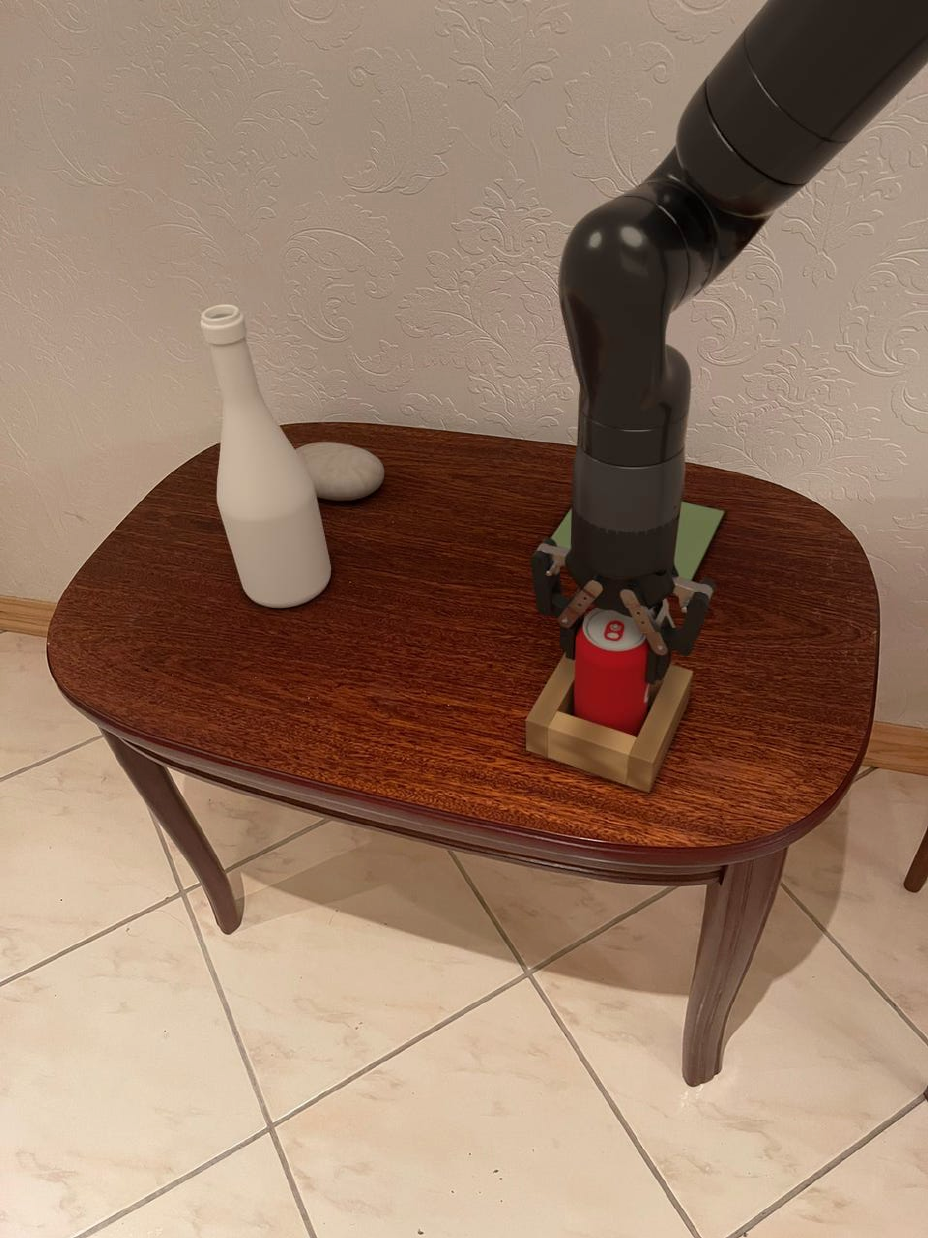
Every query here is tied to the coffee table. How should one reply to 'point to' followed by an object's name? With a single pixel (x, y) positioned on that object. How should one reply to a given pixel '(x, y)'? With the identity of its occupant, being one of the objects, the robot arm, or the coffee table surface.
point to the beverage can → (611, 672)
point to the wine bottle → (262, 481)
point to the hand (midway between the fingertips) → (613, 664)
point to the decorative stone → (341, 470)
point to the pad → (691, 536)
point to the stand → (607, 729)
